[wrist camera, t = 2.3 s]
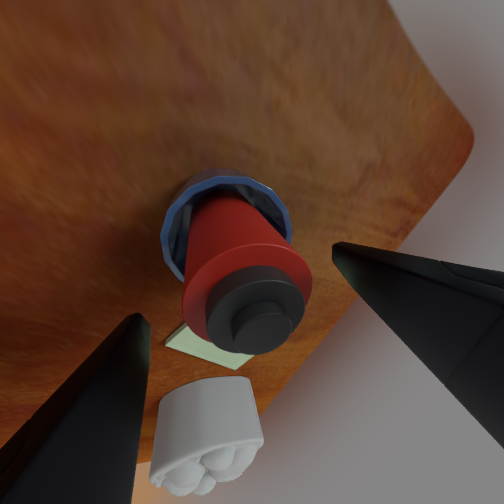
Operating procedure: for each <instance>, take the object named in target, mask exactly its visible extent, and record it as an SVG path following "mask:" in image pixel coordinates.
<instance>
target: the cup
mask: <svg viewBox="0 0 504 504" xmlns="http://www.w3.org/2000/svg"><path fill="white" fill-rule="evenodd" d="M216 190H231V191H234V192H237V193H239V194H241V195H242V196H244V197H245V198H246V199H247V200H248V201H249V202H250V203H251V204H252V205H253V206H254V207H255V208H256V210H257V211H258V212H259V213H260V214H261V215H262V216H263V217H264V218H265V219H266V220H267V221H268V222H269V223H270V224H271V225H272V226H273V227H274V229H275V230H276V231H277V232H278V233H279V234H280V235H281V236H282V237H283V238H284V239H285V240H286V241H287V242H288V243H289V244H290V242H291V236H292V227H291V222H290V218H289V213H288V209H287V208H286V206H285V205H284V204H283V202H282V201H281V200H280V198H279V197H278V196H277V195H276V193H275V192H274V191H273V190H272V189H271V188H269V187H267V186H265V185H264V184H262V183H260V182H258V181H257V180H255V179H253V178H251V177H249V176H247V175H245V174H243V173H241V172H239V171H237V170H235V169H226V168H213V169H212V168H211V169H208V170H205V171H202V172H200V173H198V174H196V175H194V176H191V177H190V178H189V179H188V180H187V181H186V182H185V183H184V184H183V185H182V186H181V188H180V189H179V190H178V191H177V192H176V193H175V195H174V197H173V199H172V202H171V204H170V206H169V208H168V210H167V213H166V216H165V220H164V223H163V226H162V230H161V233H160V240H161V246H162V251H163V256H164V260H165V262H166V264H167V265H168V266H169V268H170V269H171V270H172V272H173V273H174V274H175V276H176V277H177V278H178V279H179V280H180V281H181V282H183V283H184V276H185V266H186V256H187V246H188V236H189V226H190V216H191V212H192V210H193V207H194V206H195V204H196V203H197V201H198V200H199V199H200V198H201V197H203V196H204V195H206V194H208V193H210V192H212V191H216Z"/></svg>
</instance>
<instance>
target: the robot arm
mask: <svg viewBox="0 0 504 504" xmlns="http://www.w3.org/2000/svg"><path fill="white" fill-rule="evenodd" d="M332 261H333V263H334V264H335V266H336V267H337V268H338V270H339V271H340V272H341V273H342V275H343V276H344V277H345V279H346V280H347V281H348V283H349V284H350V285H351V286H352V288H353V289H354V290H355V291H356V292H357V293H358V294H359V295H360V296H361V297H362V298H363V300H364V301H366V303H367V304H368V305H369V306H370V307H371V308H372V309H373V310H374V311H375V312H376V313H377V314H378V315H379V317H380V318H381V319H382V320H384V322H385V323H386V324H387V325H388V326H389V327H390V328H391V329H392V330H393V331H394V332H395V334H397V336H398V337H399V338H400V339H401V340H402V341H403V342H404V343H405V344H406V345H407V346H408V347H409V348H410V350H412V352H413V353H414V354H415V355H416V356H417V357H418V358H419V359H420V360H421V361H422V362H423V363H424V364H425V365H426V367H428V369H429V370H430V371H431V372H432V373H433V374H434V375H435V376H436V377H437V378H438V379H439V380H440V381H441V382H442V383H443V384H444V386H445V387H446V388H447V389H448V390H449V391H450V392H451V393H452V394H453V395H454V397H455V398H457V400H458V401H459V402H460V403H461V404H462V405H463V406H464V407H465V408H466V409H467V410H468V411H469V412H470V414H471V415H472V416H473V417H474V418H475V419H476V420H477V421H478V422H479V423H480V424H481V425H482V426H483V427H484V428H485V429H486V431H488V433H489V434H490V435H491V436H492V437H493V438H494V439H495V440H496V441H497V442H498V443H499V444H500V445H501V446H502V447H503V449H504V272H501V271H495V270H489V269H482V268H476V267H471V266H465V265H460V264H454V263H449V262H444V261H438V260H434V259H428V258H424V257H418V256H413V255H408V254H403V253H398V252H393V251H388V250H383V249H378V248H373V247H368V246H363V245H358V244H352V243H347V242H338V243H335V244H333V246H332ZM150 339H151V327H150V325H149V323H148V322H147V321H146V319H145V318H144V317H143V316H142V315H141V314H140V313H134V314H131V315H129V316H127V317H126V318H125V319H124V320H123V321H122V322H121V323H120V324H119V325H118V326H117V327H116V328H115V329H114V330H113V332H112V333H111V334H110V335H109V336H108V337H107V338H106V339H105V340H104V341H103V342H102V343H101V344H100V345H99V346H98V347H97V348H96V349H95V350H94V351H93V353H92V354H91V355H90V356H89V357H88V358H87V359H86V360H85V361H84V362H83V363H82V364H81V365H80V366H79V367H78V368H77V369H76V370H75V371H74V372H73V374H72V375H71V376H70V377H69V378H68V379H67V380H66V381H65V382H64V383H63V384H62V385H61V386H60V387H59V388H58V389H57V390H56V391H55V392H54V393H53V395H52V396H51V397H50V398H49V399H48V400H47V401H46V402H45V403H44V404H43V405H42V406H41V407H40V408H39V409H38V410H37V411H36V412H35V413H34V414H33V416H32V417H31V419H29V420H28V421H27V422H26V423H25V424H24V425H23V426H22V427H21V428H20V429H19V430H18V431H17V432H16V433H15V434H14V435H13V436H12V438H11V439H10V440H9V441H8V442H7V443H6V444H5V445H4V446H3V447H2V448H1V449H0V504H131V500H132V492H133V486H134V478H135V470H136V463H137V456H138V449H139V441H140V434H141V426H142V419H143V411H144V404H145V397H146V389H147V382H148V374H149V366H150Z"/></svg>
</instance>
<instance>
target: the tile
mask: <svg viewBox="0 0 504 504" xmlns="http://www.w3.org/2000/svg"><path fill="white" fill-rule="evenodd" d="M165 346H167V347H170V348H173V349H176V350H179V351H182V352H185V353H188V354H191V355H193V356H196V357H199V358H202V359H205V360H208V361H211V362H214V363H217V364H219V365H222V366H225V367H228V368H231V369H234V370H236V369H237V368H239V367H240V366H241V365H243V364H244V363H245V362H246V361H248V360H249V359H250V358H252V357H253V356H254V355H246V354H243V353H231V352H227V351H224V350H221V349H219V348H218V347H216V346H215V345H214V344H213V343H210V342H208V341H205V340H203V339H201V338H200V337H198V336H197V335H195V334H194V333H193V332H192V331H191V330H190V328H189V327H188V326H187V324H186V322H185V323H184V324H183V325H182V326H180V327H179V328H178V329H177V330H176V331H175V332H174V333H173V334H171V335H170V336H169V337H168V338H167V339H166V343H165Z"/></svg>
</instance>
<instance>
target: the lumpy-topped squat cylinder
mask: <svg viewBox="0 0 504 504" xmlns="http://www.w3.org/2000/svg"><path fill="white" fill-rule="evenodd" d="M263 443H264V440H263V435H262V431H261V426H260V422H259V417H258V413H257V408H256V404H255V400H254V395H253V391H252V386H251V382H250V380H249V379H248V378H246V377H241V376H226V377H214V378H206V379H201V380H197V381H194V382H191V383H188V384H186V385H183V386H181V387H178V388H176V389H174V390H173V391H171V392H169V393H168V394H166V395H165V396H164V397H163V398H162V399H161V401H160V404H159V411H158V418H157V425H156V431H155V438H154V446H153V453H152V459H151V467H150V473H149V481H150V482H151V483H152V484H154V485H156V487H160V486H165V487H166V489H167V490H168V491H169V492H170V493H171V494H172V495H175V496H184V495H187V494H189V493H190V492H193V493H194V494H196V495H205V494H207V493H208V492H210V491H211V490H212V488H213V487H214V485H215V483H216V481H218V482H227V481H232V480H234V479H236V478H238V477H239V476H240V475H241V474H242V473H243V471H244V470H245V469H246V468H247V467H248V466H249V465H250V464H251V462H252V461H253V459H254V457H255V454H256V451H257V450H258V449H259V448H260V447H261V446H262V445H263Z"/></svg>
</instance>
